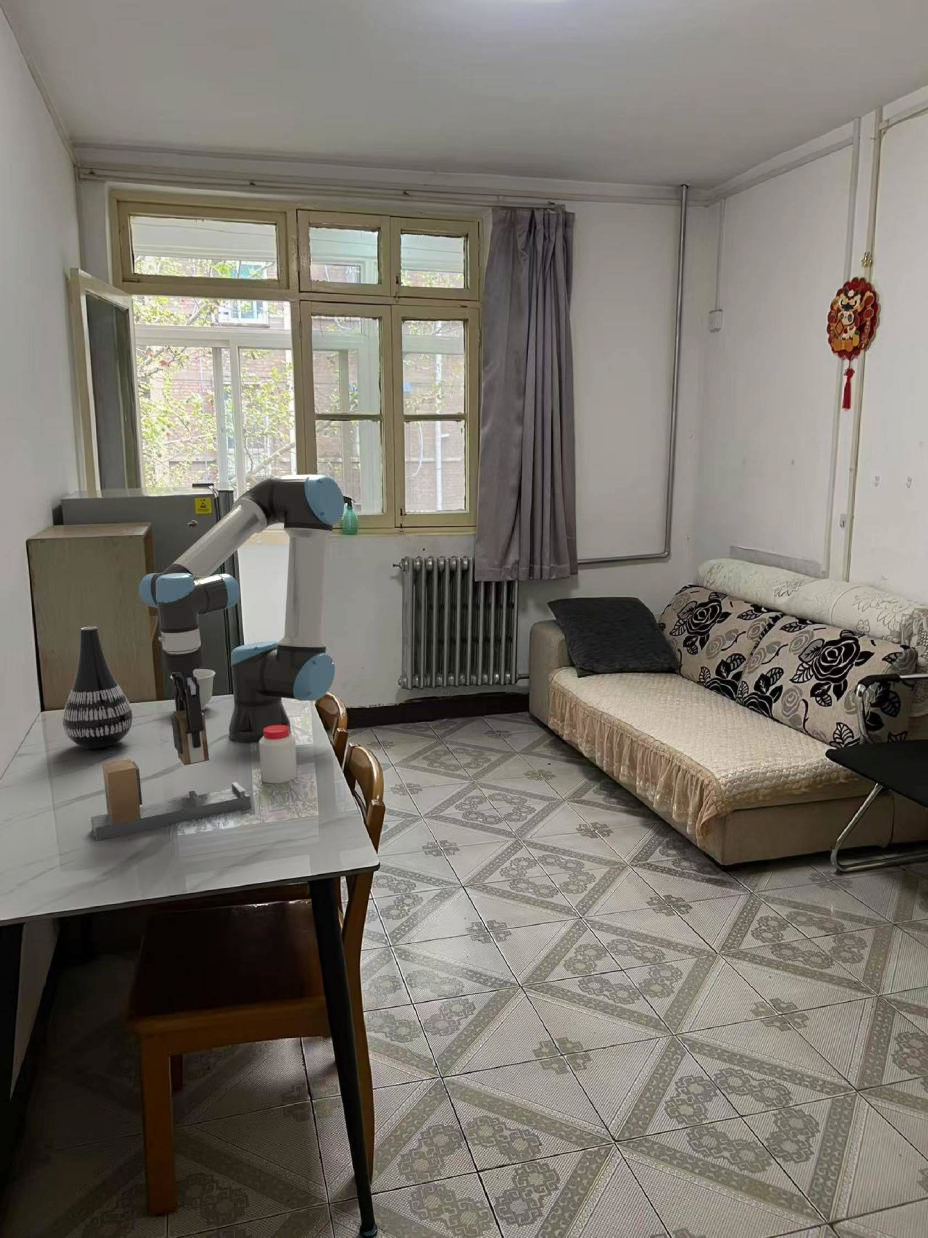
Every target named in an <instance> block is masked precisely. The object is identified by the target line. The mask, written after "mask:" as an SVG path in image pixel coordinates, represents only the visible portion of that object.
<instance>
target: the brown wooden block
mask: <svg viewBox="0 0 928 1238" xmlns="http://www.w3.org/2000/svg"><path fill="white" fill-rule="evenodd" d="M172 713H173V714H171V715H170V718H171V726H172V737H173V745H174V748H175V750H176V751H177V756H178V757H177V758H178V759H179V760H180V761H181V762H182V764H183V765H184V766H189V765H193V764H199V763H202V762H203V763H204V762H209V761H210V756H209V755H210V754H209V745H208V738H207V737H208V736H207V727H206V719H205V718H206V717H205V713H204V712H202V719H203V726H204V730H203V731H201V733H202V742H203V752H204V761H200V762H195V763H191V762H190V754H189V745H188V736H187V734H185V731H188V725H187V719H186V713H185V710H181V711H176V710H175V711H173V712H172Z"/></svg>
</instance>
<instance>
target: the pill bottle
mask: <svg viewBox="0 0 928 1238" xmlns="http://www.w3.org/2000/svg"><path fill="white" fill-rule="evenodd" d="M263 731H264V736H263V737H262V738H261V739H260V740H259V742H258V750H259V761H260V765H259V766H260V777H261V780H262V781H263V782H265V783H268V784H282V783H286V782H290V781H293V780H295V779H296V778H298V764H297V761H298V760H297V747H296V738H295V736H293V735H292V734H291V732H290V733H289V727H288V726H286V725H273V726H268V727H266V728H264V729H263Z"/></svg>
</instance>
